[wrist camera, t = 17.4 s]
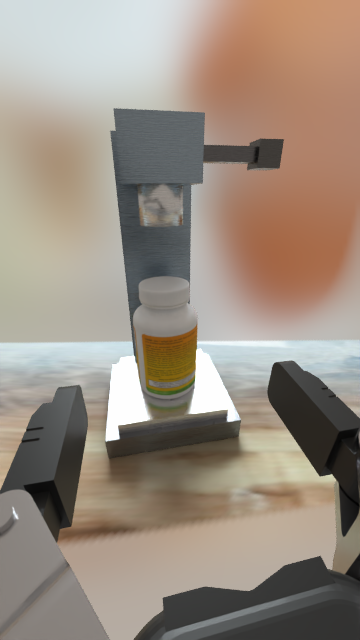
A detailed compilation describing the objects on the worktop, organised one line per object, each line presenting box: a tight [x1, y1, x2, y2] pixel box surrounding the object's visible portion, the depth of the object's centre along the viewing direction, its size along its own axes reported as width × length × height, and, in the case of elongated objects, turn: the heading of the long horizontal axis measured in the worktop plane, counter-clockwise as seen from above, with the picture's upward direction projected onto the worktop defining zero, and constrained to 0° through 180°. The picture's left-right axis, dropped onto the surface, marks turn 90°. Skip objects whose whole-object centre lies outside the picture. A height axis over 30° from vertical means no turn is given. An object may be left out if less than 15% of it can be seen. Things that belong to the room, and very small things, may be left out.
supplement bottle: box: [133, 276, 197, 399], centre depth 22 cm, size 5×5×10 cm
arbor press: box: [105, 109, 284, 458], centre depth 21 cm, size 15×11×23 cm
